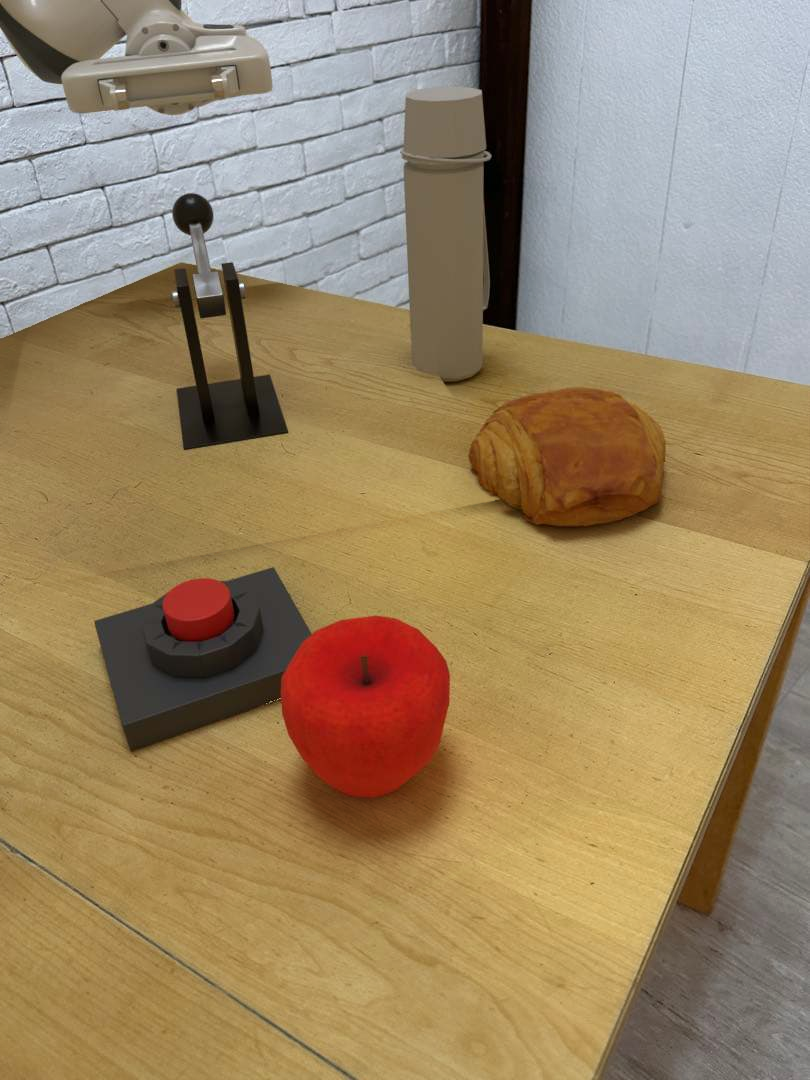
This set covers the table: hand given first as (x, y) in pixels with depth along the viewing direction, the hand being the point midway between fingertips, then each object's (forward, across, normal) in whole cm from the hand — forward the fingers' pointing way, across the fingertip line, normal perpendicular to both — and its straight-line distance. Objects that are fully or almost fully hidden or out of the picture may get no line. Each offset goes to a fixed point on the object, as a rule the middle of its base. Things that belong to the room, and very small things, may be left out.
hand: (170, 95), depth 85 cm
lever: (+15, 0, +11) cm, 19 cm away
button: (+53, -3, +18) cm, 56 cm away
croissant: (+40, +26, +23) cm, 53 cm away
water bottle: (+16, +23, +24) cm, 37 cm away
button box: (+53, -3, +22) cm, 58 cm away
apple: (+64, +5, +22) cm, 68 cm away
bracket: (+21, 0, +24) cm, 32 cm away
